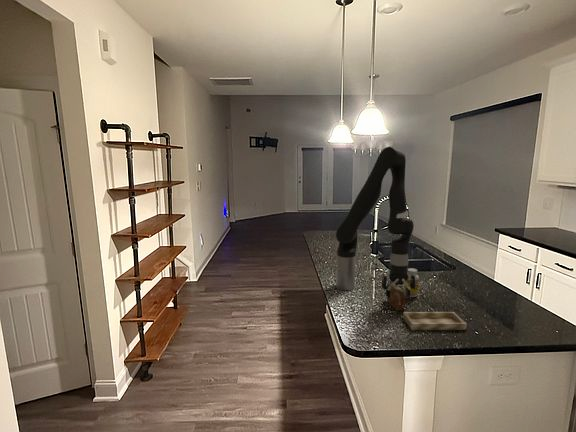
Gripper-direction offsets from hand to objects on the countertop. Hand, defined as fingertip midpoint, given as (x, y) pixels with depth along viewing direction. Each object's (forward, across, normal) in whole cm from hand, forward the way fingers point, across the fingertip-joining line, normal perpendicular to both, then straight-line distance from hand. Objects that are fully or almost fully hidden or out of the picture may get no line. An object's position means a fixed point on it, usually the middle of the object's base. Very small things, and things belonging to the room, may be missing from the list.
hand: (397, 297), depth 146 cm
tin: (+4, -1, 0) cm, 4 cm away
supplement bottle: (+4, +10, +11) cm, 16 cm away
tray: (+4, +9, -17) cm, 19 cm away
